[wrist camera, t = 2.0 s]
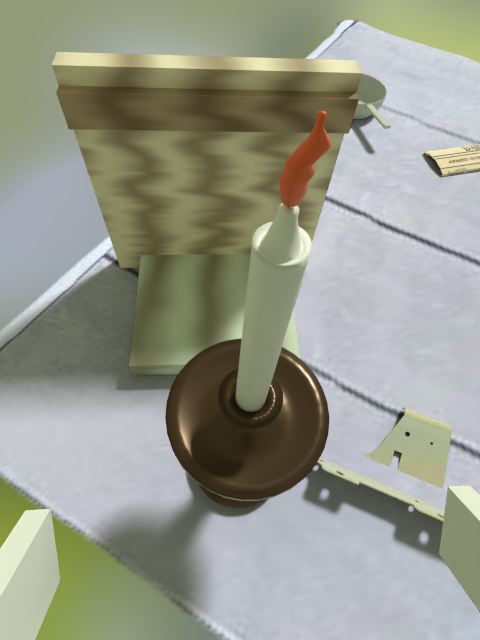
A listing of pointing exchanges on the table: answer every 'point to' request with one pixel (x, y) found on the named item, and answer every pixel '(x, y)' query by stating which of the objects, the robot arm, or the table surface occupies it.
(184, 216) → the pale wooden blocky structure
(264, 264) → the candlestick
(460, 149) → the newspaper
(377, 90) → the small pan
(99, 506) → the table surface
